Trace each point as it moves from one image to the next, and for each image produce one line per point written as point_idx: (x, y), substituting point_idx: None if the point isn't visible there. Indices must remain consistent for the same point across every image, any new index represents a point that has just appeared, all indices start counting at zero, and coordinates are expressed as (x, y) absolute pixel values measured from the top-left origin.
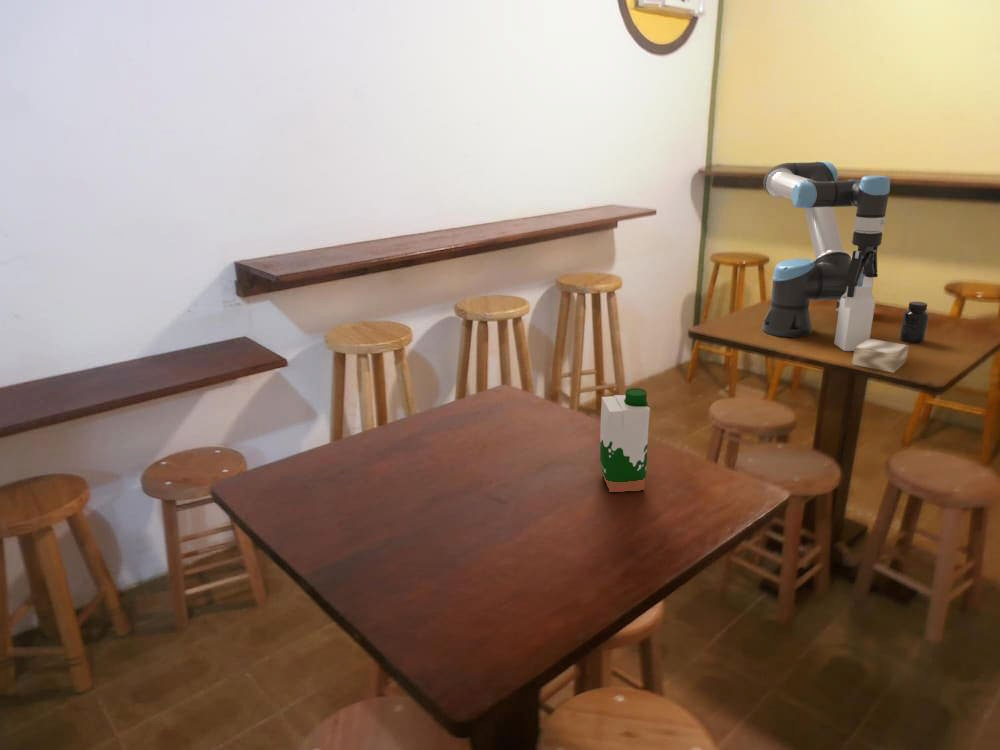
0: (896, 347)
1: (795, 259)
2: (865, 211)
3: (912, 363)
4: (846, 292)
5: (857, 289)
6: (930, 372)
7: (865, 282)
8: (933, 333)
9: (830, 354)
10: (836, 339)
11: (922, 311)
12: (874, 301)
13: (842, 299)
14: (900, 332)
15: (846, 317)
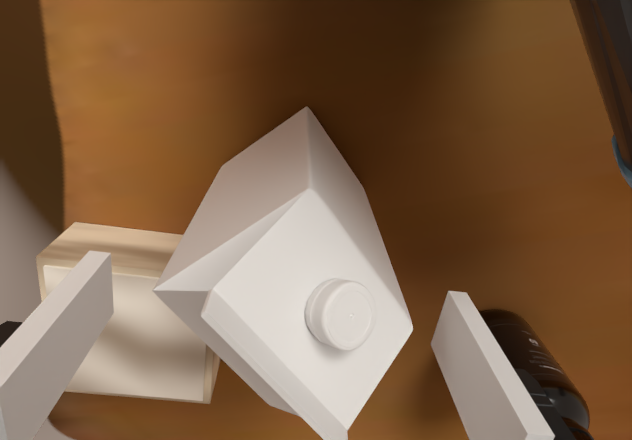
0: (145, 381)
1: None
2: None
3: (221, 370)
4: (18, 329)
5: (32, 435)
6: (164, 414)
7: (493, 405)
8: (603, 380)
9: (146, 123)
10: (290, 122)
11: None
12: (273, 405)
13: (276, 206)
14: (498, 326)
15: (207, 215)
